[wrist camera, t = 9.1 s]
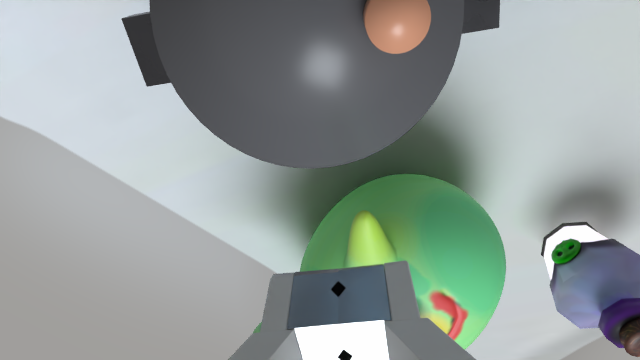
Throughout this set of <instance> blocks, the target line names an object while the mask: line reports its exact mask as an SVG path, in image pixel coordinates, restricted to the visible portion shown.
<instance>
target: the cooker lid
mask: <svg viewBox="0 0 640 360" xmlns="http://www.w3.org/2000/svg"><path fill="white" fill-rule="evenodd" d="M150 17H151V23H152V30H153V36H154V39H155V43H156V46H157V50H158V53H159V57H160V59H161V61H162V64H163V66H164V69H165V71H166V74H167V76H168V78H169V79H170V81H171V83H172V85H173V87H174V88H175V90H176V92H177V93H178V95H179V96H180V98H181V99H182V100H183V102H184V103H185V105H186V106H187V107H188V109H189V110H190V111H191V112H192V113H193V114H194V115H195V117H196V118H197V119H198V120H199V121H200V122H201V123H202V124H203V125H204V126H205V127H207V128H208V129H209V130H210V131H211V132H212V133H213V134H214V135H216V136H217V137H219V138H220V139H222V140H223V141H224V142H226V143H227V144H229V145H230V146H232V147H234V148H236V149H237V150H239V151H241V152H243V153H245V154H247V155H250V156H252V157H254V158H257V159H259V160H262V161H266V162H269V163H273V164H276V165H281V166H287V167H294V168H325V167H333V166H338V165H343V164H348V163H351V162H354V161H357V160H360V159H363V158H366V157H368V156H370V155H372V154H374V153H376V152H379V151H380V150H382V149H384V148H385V147H387V146H389V145H390V144H392V143H394V142H395V141H396V140H398V139H399V138H400V137H401V136H403V135H404V134H405V133H406V132H408V131H409V130H410V129H411V128H412V127H413V126H414V125H415V124H416V123H417V122H418V121H419V120H420V119H421V118H422V117H423V116H424V114H425V113H426V112H427V111H428V109H429V108H430V107H431V105H432V104H433V103H434V102H435V100H436V98H437V97H438V95H439V93H440V92H441V90H442V88H443V87H444V85H445V83H446V81H447V78H448V76H449V74H450V72H451V70H452V67H453V65H454V61H455V58H456V55H457V52H458V48H459V45H460V39H461V34H462V28H463V18H464V0H150Z"/></svg>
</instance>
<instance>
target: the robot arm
mask: <svg viewBox="0 0 640 360" xmlns="http://www.w3.org/2000/svg"><path fill="white" fill-rule="evenodd" d="M228 360H476V359H475V358H473V357H472V356H471V355H470V354H469V353H468V352H467V351H465V350H464V349H463V348H462V347H461V346H460V345H459V344H457V343H456V342H455V341H454V340H453V339H452V338H451V337H449V336H448V335H447V334H446V333H445V332H444V331H443V330H441V329H440V328H439V327H438V326H437V325H436V324H435V323H433V322H432V321H431V320H430V319H429V318H420V313H419V309H418V304H417V300H416V295H415V290H414V286H413V281H412V277H411V272H410V268H409V263H408V262H407V261H397V262H389V263H384V265H383V264H376V265H367V266H358V267H349V268H340V269H327V270H315V271H303V272H295V273H283V274H273V276H272V278H271V279H270V284H269V289H268V294H267V299H266V304H265V309H264V314H263V319H262V324H261V328H260V332H259V333H253V334H252V335H251V336H250V337H249V338H248V339H247V340H246V341H245V342H244V343H243V344H242V345H241V346H240V348H239V349H238V350H237V351H236V352H235V353H234V354H233V355H232V356H231V357H230V358H229V359H228Z"/></svg>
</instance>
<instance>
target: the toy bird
mask: <svg viewBox="0 0 640 360" xmlns="http://www.w3.org/2000/svg"><path fill="white" fill-rule="evenodd" d="M397 261H407V262H408V263H409V268H410V272H411V277H412V281H413V286H414V290H415V295H416V300H417V304H418V309H419V313H420V318H429V319H430V320H431V321H432V322H433V323H435V324H436V325H437V326H438V327H439V328H440V329H441V330H443V331H444V332H445V333H446V334H447V335H448V336H449V337H451V338H452V339H453V340H454V341H455V342H456V343H457V344H459V345H460V346H461V347H462V348H463V349H464V350H465V349H466V348H467V347H468V346H469V345H471V344H472V342H473V341H474V340H475V339H476V338H477V337H478V336H479V335H480V333H481V332H482V331H483V329H484V328H485V327H486V325H487V324H488V322H489V320H490V319H491V317H492V315H493V313H494V311H495V309H496V307H497V305H498V302H499V300H500V297H501V294H502V290H503V286H504V281H505V273H506V259H505V251H504V247H503V243H502V240H501V237H500V234H499V232H498V230H497V228H496V226H495V224H494V223H493V221H492V219H491V218H490V216H489V215H488V214H487V212H486V211H485V210H484V209H483V208H482V207H481V206H480V205H479V204H478V203H477V202H476V201H475V200H474V199H473V198H472V197H471V196H469V195H468V194H467V193H465V192H464V191H462V190H461V189H459V188H457V187H456V186H454V185H452V184H450V183H448V182H445V181H443V180H440V179H437V178H434V177H430V176H425V175H418V174H396V175H389V176H385V177H381V178H378V179H375V180H372V181H370V182H368V183H366V184H364V185H362V186H360V187H358V188H357V189H355V190H353V191H352V192H351V193H349V194H348V195H346V196H345V197H344V198H343V199H342V200H340V201H339V202H338V203H337V204H336V205H335V206H334V207H333V208H332V209H331V210H330V211H329V213H328V214H327V215H326V216H325V217H324V219H323V220H322V221H321V223H320V224H319V226H318V227H317V229H316V230H315V232H314V234H313V236H312V238H311V240H310V242H309V244H308V246H307V248H306V251H305V254H304V257H303V260H302V264H301V268H300V272H303V271H315V270H327V269H340V268H349V267H358V266H367V265H376V264H383V265H384V263H389V262H397ZM261 324H262V322H261V323H260V324H259V325H258V326H257V327H256V329H255V330H254V332H253V333H259V332H260V328H261Z"/></svg>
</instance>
